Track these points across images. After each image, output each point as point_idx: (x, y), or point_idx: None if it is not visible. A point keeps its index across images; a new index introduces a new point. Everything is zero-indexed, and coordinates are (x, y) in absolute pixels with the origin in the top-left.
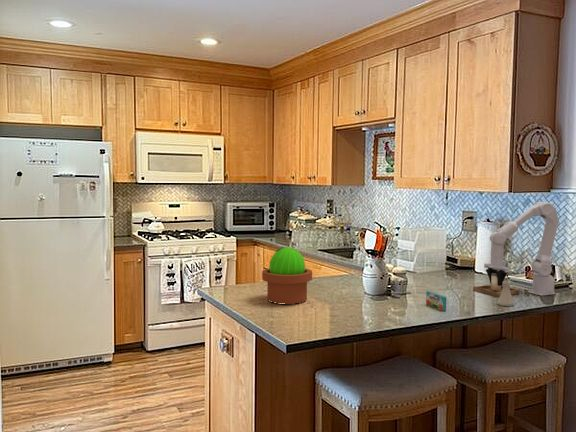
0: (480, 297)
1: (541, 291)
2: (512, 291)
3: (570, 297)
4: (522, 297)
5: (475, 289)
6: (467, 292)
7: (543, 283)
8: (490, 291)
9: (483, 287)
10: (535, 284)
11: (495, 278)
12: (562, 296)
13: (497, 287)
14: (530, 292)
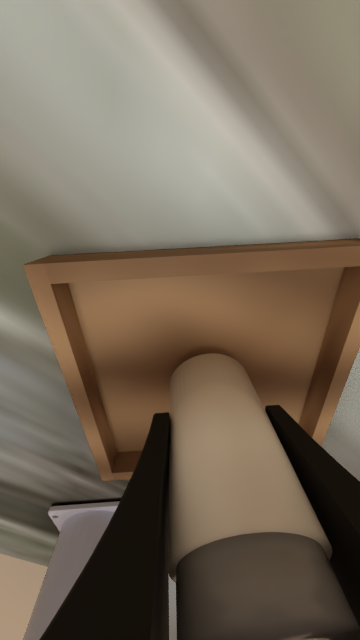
0: (44, 24)
1: (60, 536)
2: (88, 435)
3: (15, 556)
4: (22, 424)
5: (341, 242)
6: (350, 82)
7: (32, 614)
8: (109, 259)
9: (329, 352)
10: (72, 582)
11: (195, 489)
12: (36, 547)
13: (173, 395)
14: (118, 503)
